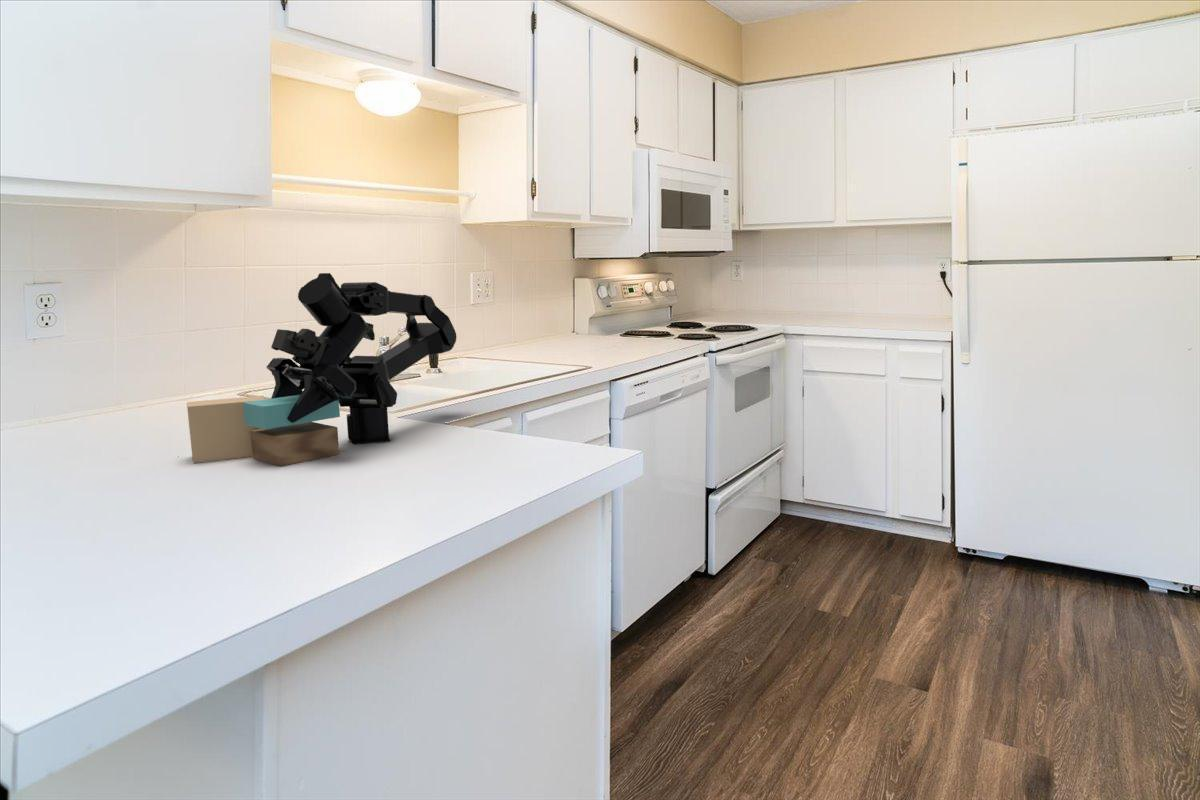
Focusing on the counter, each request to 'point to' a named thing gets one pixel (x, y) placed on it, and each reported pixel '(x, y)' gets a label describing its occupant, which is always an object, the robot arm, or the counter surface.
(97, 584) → the counter surface
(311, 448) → the walnut block
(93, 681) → the counter surface
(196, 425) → the box
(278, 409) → the lid
